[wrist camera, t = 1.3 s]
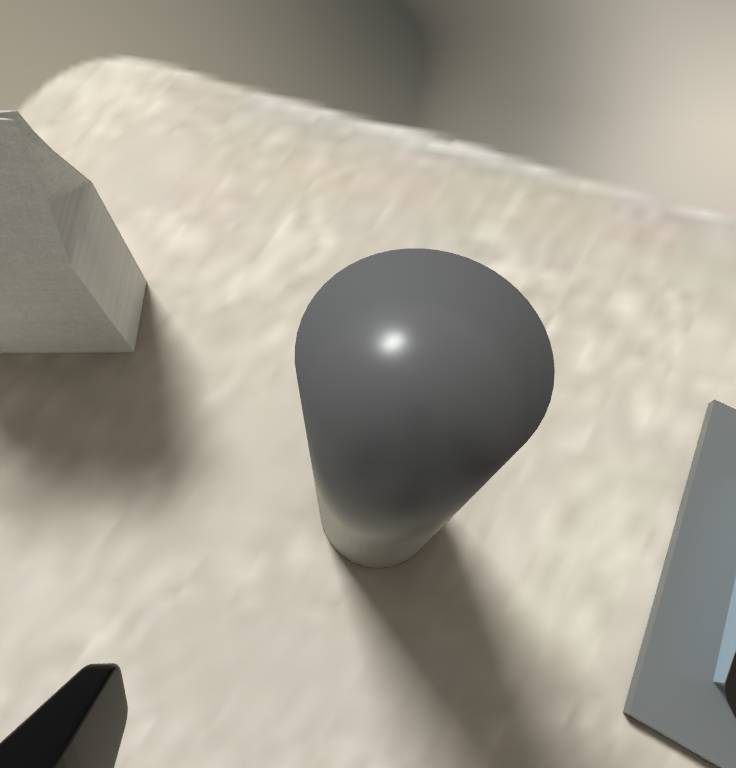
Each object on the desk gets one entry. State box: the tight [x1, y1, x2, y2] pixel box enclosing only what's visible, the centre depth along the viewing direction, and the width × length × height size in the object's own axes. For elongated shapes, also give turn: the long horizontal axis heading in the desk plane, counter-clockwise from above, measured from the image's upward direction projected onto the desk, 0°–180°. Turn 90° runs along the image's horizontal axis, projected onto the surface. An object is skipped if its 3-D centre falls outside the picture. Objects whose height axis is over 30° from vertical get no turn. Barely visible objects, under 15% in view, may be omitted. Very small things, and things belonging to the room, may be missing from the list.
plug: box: [295, 249, 554, 568], centre depth 15 cm, size 4×4×12 cm
